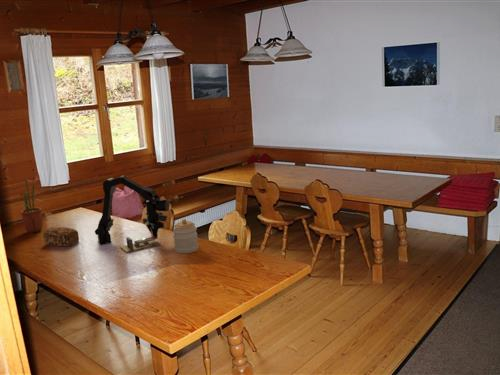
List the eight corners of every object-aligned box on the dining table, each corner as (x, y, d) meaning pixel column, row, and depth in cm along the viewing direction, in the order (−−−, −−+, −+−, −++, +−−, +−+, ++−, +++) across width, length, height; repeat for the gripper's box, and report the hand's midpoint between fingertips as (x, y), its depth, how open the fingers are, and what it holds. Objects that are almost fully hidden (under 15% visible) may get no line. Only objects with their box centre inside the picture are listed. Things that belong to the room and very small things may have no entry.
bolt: (135, 244, 274) (134, 235, 273) (134, 243, 276) (133, 234, 275) (158, 239, 281) (157, 230, 280) (156, 238, 283) (155, 229, 282)
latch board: (126, 253, 267) (125, 242, 266) (120, 248, 277) (119, 237, 275) (160, 245, 278) (159, 234, 276) (153, 240, 287) (152, 230, 285)
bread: (44, 245, 293) (41, 229, 291) (56, 239, 303) (54, 224, 301) (68, 247, 286) (65, 231, 284) (80, 241, 296) (78, 225, 294)
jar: (194, 254, 259) (191, 222, 255) (171, 253, 262) (168, 222, 258) (201, 245, 271) (198, 215, 268) (179, 245, 274) (176, 215, 270)
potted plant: (24, 230, 328) (15, 180, 320) (48, 226, 334) (40, 177, 327) (24, 237, 312) (14, 184, 305) (49, 232, 319) (41, 181, 311)
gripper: (171, 211, 274) (173, 237, 277) (158, 205, 290) (161, 230, 293) (152, 215, 268) (155, 241, 272) (140, 209, 284) (143, 234, 287)
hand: (154, 236), depth 281 cm, fingers closed on bolt, 3 cm apart
